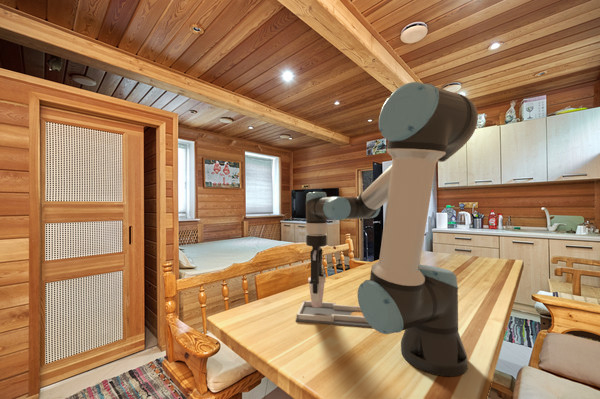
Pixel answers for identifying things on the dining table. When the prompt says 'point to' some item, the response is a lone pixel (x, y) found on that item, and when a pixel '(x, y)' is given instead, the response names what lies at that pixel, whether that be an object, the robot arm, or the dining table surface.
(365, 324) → the keyhole plate
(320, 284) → the smoothie
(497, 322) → the dining table surface
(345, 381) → the dining table surface
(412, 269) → the robot arm
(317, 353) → the dining table surface
